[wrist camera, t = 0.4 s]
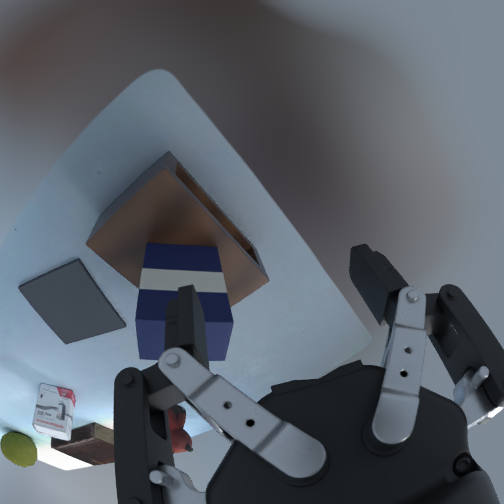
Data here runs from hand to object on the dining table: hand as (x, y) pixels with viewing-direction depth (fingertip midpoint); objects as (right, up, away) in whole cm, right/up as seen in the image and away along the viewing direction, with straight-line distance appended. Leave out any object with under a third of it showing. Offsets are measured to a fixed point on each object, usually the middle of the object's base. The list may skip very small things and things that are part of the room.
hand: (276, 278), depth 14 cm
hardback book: (-51, -59, +54) cm, 95 cm away
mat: (-30, -7, +25) cm, 40 cm away
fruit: (-87, -67, +50) cm, 121 cm away
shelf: (-10, +4, +23) cm, 25 cm away
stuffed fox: (-21, -35, +46) cm, 62 cm away
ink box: (-46, -31, +37) cm, 67 cm away
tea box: (-9, 0, +17) cm, 19 cm away
